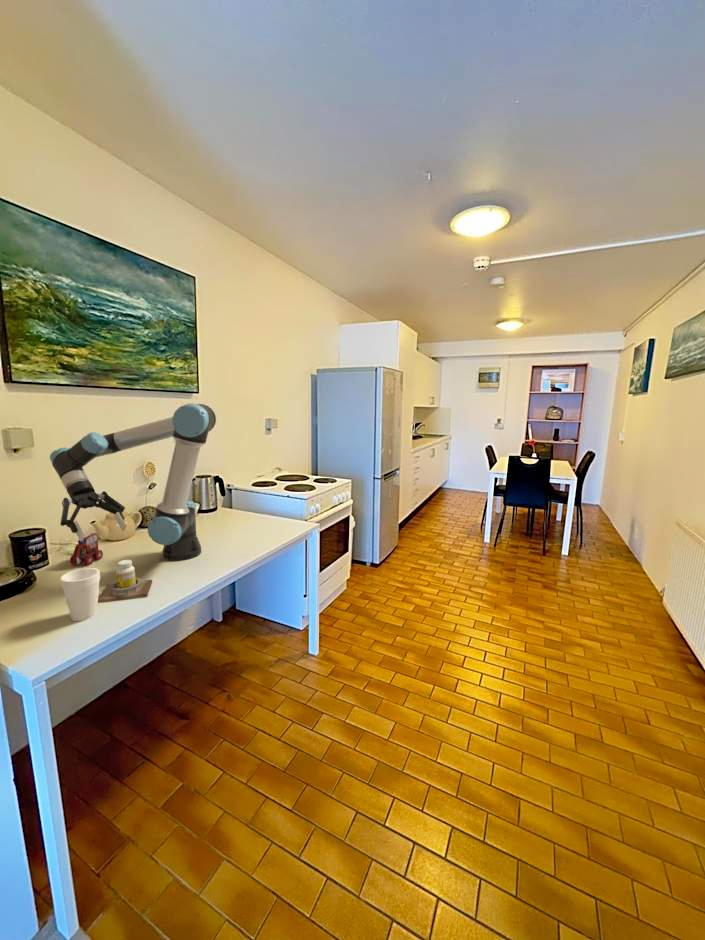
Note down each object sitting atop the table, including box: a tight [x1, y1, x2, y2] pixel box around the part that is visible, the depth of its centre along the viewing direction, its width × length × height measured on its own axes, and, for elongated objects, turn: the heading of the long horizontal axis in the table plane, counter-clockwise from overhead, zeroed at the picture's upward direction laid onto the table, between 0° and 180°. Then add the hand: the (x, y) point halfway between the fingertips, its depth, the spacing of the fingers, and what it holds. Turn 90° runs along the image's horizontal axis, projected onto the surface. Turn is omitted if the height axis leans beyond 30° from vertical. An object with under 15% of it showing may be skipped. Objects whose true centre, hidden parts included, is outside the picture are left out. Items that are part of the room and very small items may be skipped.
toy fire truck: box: [69, 532, 104, 566], centre depth 152 cm, size 7×12×10 cm, turn 176°
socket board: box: [98, 577, 153, 603], centre depth 130 cm, size 14×11×3 cm
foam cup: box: [60, 567, 101, 622], centre depth 114 cm, size 10×9×13 cm
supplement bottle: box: [115, 559, 136, 589], centre depth 129 cm, size 5×5×10 cm
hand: (104, 533), depth 133 cm, fingers open, 13 cm apart
